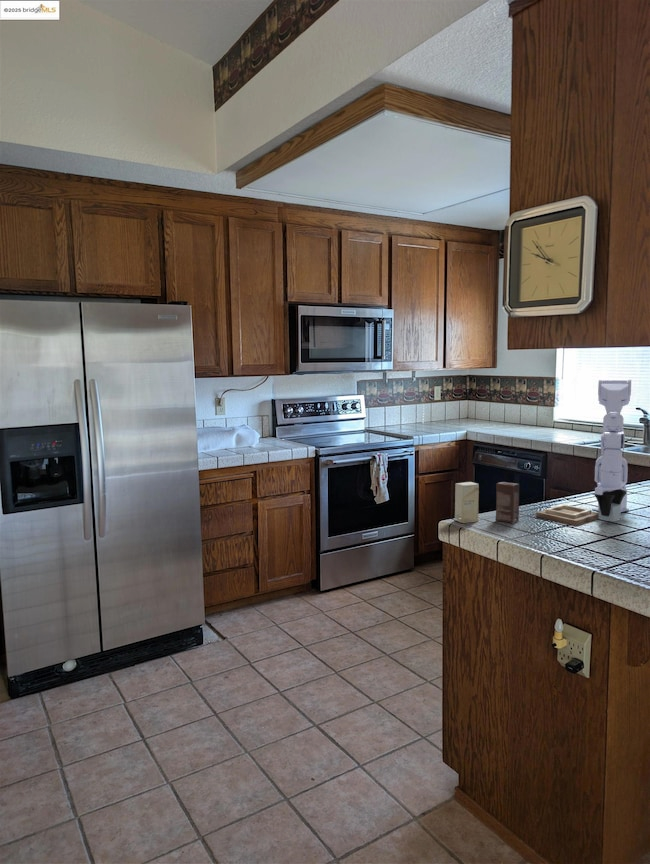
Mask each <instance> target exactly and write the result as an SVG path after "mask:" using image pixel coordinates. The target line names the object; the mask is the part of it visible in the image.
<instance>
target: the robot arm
mask: <svg viewBox="0 0 650 864" xmlns="http://www.w3.org/2000/svg"><path fill="white" fill-rule="evenodd" d="M597 388H598V389H597V390H598V391H597V396H598V400H597V401H598V404H599V405H602V406H604V408H605V411H606V414H605V415H604V416H603V418H602V420H603V421H602V422H603V423H602V433H601V434H600V453H601V455H600V456H599V457H597V459H596V460H595V466H594V482H595V483H596V486H597V487H594V493H593V494H594V497H595V498H596V501H597V506H596V507H592V509H591V511H596V512H599V507H600V511H601V515H603V516H609V514H610V509H611V504H612V503H614V504H620V505H621V513H623V512H627V511H629V510H630V508H628V507H627V505H628V504H627V503H628V490H627V487H626V486H627V483H628V469H629V467H628V462H627V459H625V458H624V457H623V451H624V450H625V444H626V443H625V439H626V436H625V431H624V430H625V429H624V417H623V415H622V414H621V413H622V410H623V407H625V406H627V405H629V403H630V401H631V396H632V379H631V378H601V377H600V378H599V379H598V385H597Z"/></svg>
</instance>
